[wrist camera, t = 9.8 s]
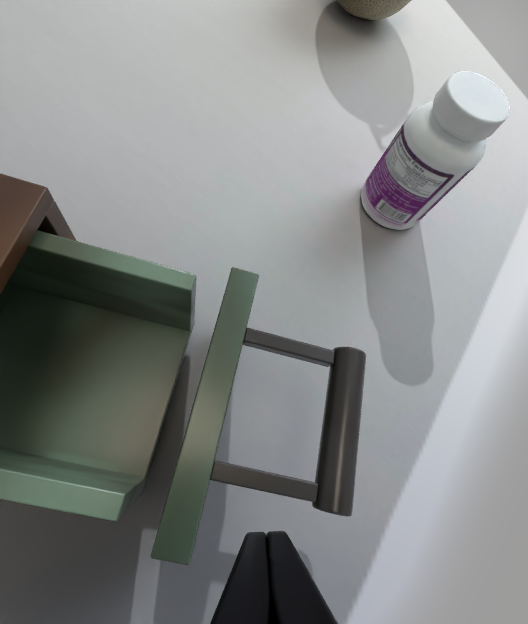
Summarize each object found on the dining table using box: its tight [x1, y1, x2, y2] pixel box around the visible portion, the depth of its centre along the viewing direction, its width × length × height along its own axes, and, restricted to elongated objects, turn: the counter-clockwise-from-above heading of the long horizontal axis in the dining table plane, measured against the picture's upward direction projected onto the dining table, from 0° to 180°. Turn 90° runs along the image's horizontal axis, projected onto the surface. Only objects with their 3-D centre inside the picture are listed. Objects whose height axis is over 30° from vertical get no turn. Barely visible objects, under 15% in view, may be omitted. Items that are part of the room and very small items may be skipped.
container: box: [0, 230, 366, 565], centre depth 15 cm, size 18×10×7 cm, turn 78°
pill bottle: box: [361, 71, 510, 230], centre depth 24 cm, size 5×5×10 cm
